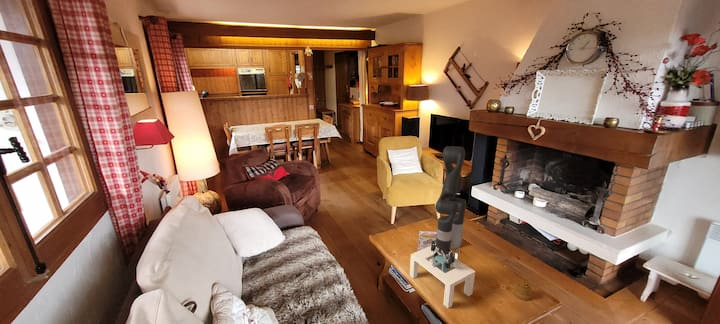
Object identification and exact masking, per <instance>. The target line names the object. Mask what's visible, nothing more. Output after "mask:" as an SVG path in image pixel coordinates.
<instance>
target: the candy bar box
mask: <svg viewBox="0 0 720 324" xmlns="http://www.w3.org/2000/svg"><path fill="white" fill-rule="evenodd" d="M436 235H437V231H429V230H428V231H426V230H425V231H424V230H419V232H418V242H417V243H418V244H417V251H420V250H422V249H425V248H427V247H429V246H431V244H432V241H434V240H436Z"/></svg>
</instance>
